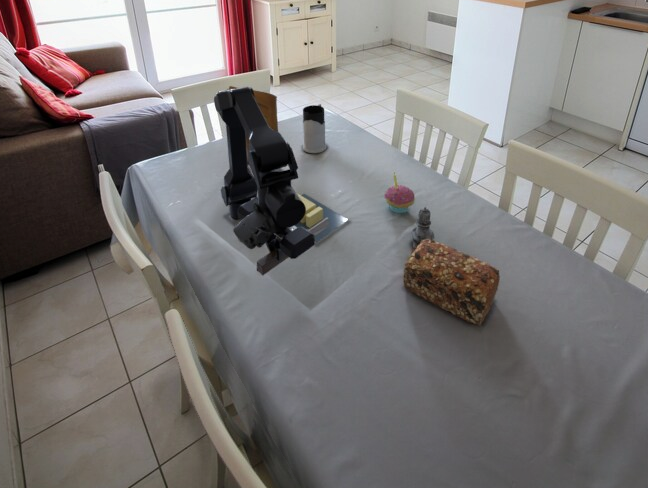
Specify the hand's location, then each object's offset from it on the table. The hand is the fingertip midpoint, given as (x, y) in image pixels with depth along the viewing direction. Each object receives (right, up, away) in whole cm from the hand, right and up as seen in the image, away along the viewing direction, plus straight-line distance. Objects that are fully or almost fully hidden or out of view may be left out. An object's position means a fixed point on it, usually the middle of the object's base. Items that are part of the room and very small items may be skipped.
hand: (276, 256), depth 92 cm
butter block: (+1, +2, +27) cm, 28 cm away
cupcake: (+29, +2, +31) cm, 43 cm away
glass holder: (+2, +24, +63) cm, 68 cm away
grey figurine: (+34, -4, +18) cm, 38 cm away
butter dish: (+4, +1, +27) cm, 27 cm away
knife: (+4, 0, +4) cm, 6 cm away
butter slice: (+6, 0, +24) cm, 24 cm away
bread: (+38, -10, +4) cm, 39 cm away
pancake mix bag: (-16, +11, +52) cm, 56 cm away
